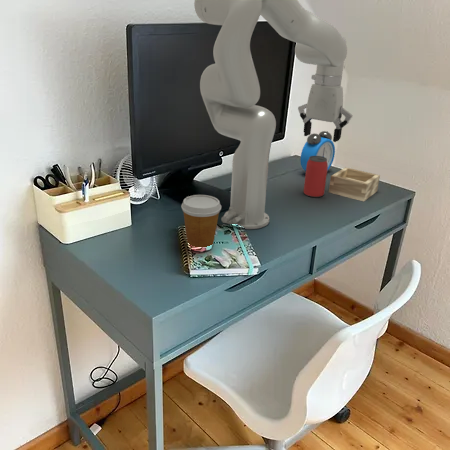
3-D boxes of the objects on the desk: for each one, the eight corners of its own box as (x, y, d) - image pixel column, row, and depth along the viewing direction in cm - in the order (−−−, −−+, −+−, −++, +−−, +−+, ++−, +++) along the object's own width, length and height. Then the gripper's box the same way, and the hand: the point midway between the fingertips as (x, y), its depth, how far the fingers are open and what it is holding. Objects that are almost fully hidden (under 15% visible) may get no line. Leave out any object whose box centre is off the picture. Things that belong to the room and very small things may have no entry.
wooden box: (363, 202, 156) (366, 184, 154) (328, 193, 162) (330, 175, 160) (376, 192, 165) (380, 175, 163) (343, 183, 171) (345, 167, 169)
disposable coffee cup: (194, 234, 128) (195, 191, 123) (226, 244, 124) (229, 199, 119) (173, 248, 121) (173, 202, 116) (206, 259, 117) (207, 212, 112)
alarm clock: (311, 179, 173) (316, 137, 167) (297, 174, 177) (302, 133, 171) (332, 172, 182) (338, 131, 176) (318, 167, 186) (324, 128, 180)
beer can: (325, 198, 157) (330, 161, 152) (304, 197, 157) (309, 160, 152) (322, 191, 163) (326, 155, 158) (302, 190, 163) (306, 154, 158)
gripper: (295, 78, 147) (290, 135, 154) (351, 86, 138) (342, 146, 145) (307, 76, 153) (301, 131, 160) (361, 83, 144) (352, 140, 151)
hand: (321, 138), depth 153 cm, fingers open, 9 cm apart
